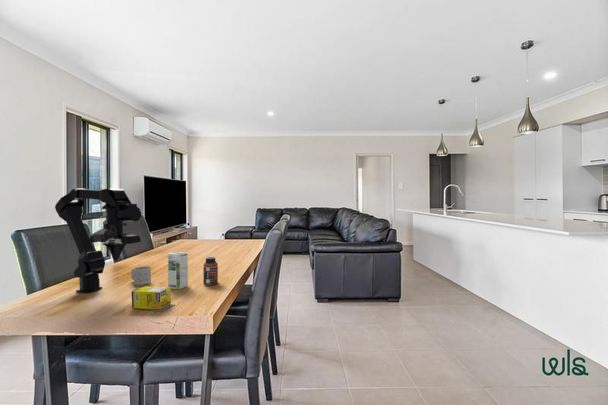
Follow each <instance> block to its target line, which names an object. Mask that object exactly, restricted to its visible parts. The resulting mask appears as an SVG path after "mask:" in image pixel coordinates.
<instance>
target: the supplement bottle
mask: <svg viewBox="0 0 608 405" xmlns="http://www.w3.org/2000/svg"><path fill="white" fill-rule="evenodd" d="M218 264H219V263H218V262H216V257H215V256H214V257H213V256H208V257H206V258H205V262H204V264H203V272H202V274H203V285H205V286H215V285H217V284H218V282H219V277H218V276H219V270H218V269H219V267H218V266H219V265H218Z"/></svg>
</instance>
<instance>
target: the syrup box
mask: <svg viewBox="0 0 608 405" xmlns="http://www.w3.org/2000/svg"><path fill="white" fill-rule="evenodd" d="M188 257H189V253H188V252H185V251H173V252H169V253H167V270H168V271H167V272H168V273H167V278H168V279H167V281H168V283H167V287H170V288H171V290H172V289H173V290H180V289H181V290H182V289H184V288H185V287H188V286H189V269H188V268H189V261H188V260H189V258H188Z"/></svg>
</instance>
